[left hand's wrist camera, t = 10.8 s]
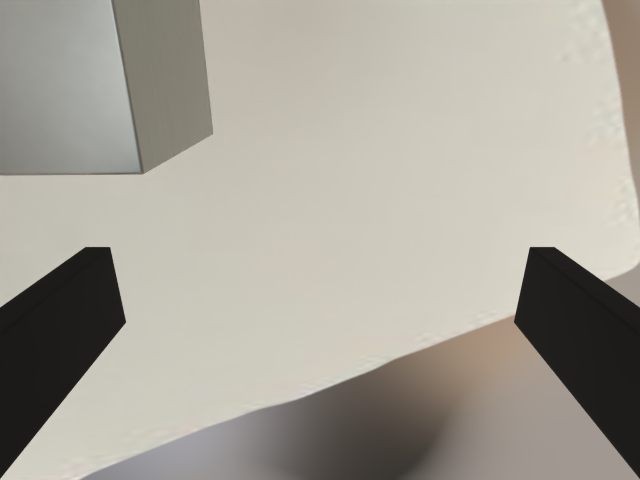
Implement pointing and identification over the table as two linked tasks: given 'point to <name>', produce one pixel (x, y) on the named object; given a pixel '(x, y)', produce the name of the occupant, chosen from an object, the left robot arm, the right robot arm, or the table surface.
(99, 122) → the bar
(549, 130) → the table surface
